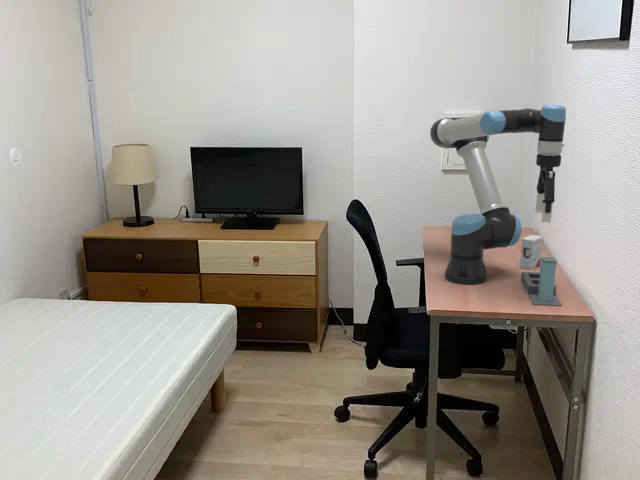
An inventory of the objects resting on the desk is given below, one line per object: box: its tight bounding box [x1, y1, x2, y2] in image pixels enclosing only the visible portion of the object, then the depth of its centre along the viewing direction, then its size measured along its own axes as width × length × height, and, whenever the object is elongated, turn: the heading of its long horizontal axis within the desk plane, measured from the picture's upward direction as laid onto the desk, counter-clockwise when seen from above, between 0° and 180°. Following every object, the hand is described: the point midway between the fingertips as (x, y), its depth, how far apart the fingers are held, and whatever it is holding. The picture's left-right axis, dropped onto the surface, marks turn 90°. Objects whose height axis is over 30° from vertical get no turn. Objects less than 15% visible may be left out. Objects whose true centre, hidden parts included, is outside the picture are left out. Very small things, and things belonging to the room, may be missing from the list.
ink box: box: [519, 234, 544, 270], centre depth 248 cm, size 9×5×12 cm, turn 137°
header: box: [520, 271, 557, 296], centre depth 225 cm, size 16×9×3 cm, turn 171°
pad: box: [528, 294, 563, 307], centre depth 211 cm, size 9×9×1 cm
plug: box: [538, 256, 558, 302], centre depth 210 cm, size 4×4×14 cm
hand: (542, 217), depth 212 cm, fingers open, 13 cm apart
